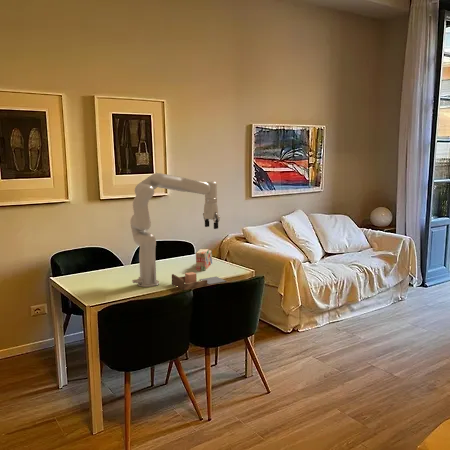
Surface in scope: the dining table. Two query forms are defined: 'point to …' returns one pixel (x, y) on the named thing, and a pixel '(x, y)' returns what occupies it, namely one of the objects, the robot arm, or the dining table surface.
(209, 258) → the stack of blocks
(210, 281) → the slate mat
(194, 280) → the terracotta block
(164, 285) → the dining table surface
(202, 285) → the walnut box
